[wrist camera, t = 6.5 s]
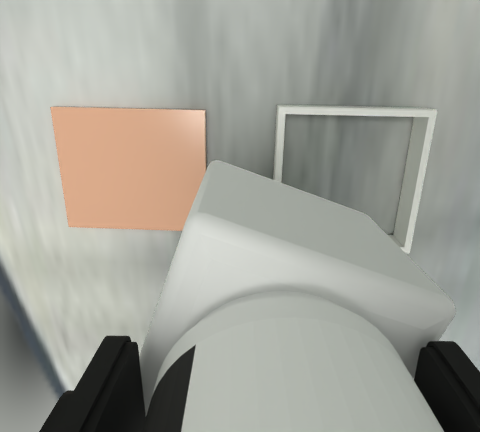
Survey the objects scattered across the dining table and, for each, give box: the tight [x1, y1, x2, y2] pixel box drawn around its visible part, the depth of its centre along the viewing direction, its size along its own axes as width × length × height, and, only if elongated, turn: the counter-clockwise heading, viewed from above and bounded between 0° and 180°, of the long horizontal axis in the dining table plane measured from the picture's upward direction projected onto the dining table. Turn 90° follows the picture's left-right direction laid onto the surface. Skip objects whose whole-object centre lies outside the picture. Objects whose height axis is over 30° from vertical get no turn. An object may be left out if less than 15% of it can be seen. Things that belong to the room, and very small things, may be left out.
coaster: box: [51, 107, 207, 231], centre depth 30 cm, size 12×10×1 cm
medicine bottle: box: [139, 160, 456, 432], centre depth 11 cm, size 7×7×12 cm
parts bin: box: [273, 105, 438, 253], centre depth 29 cm, size 11×11×2 cm
